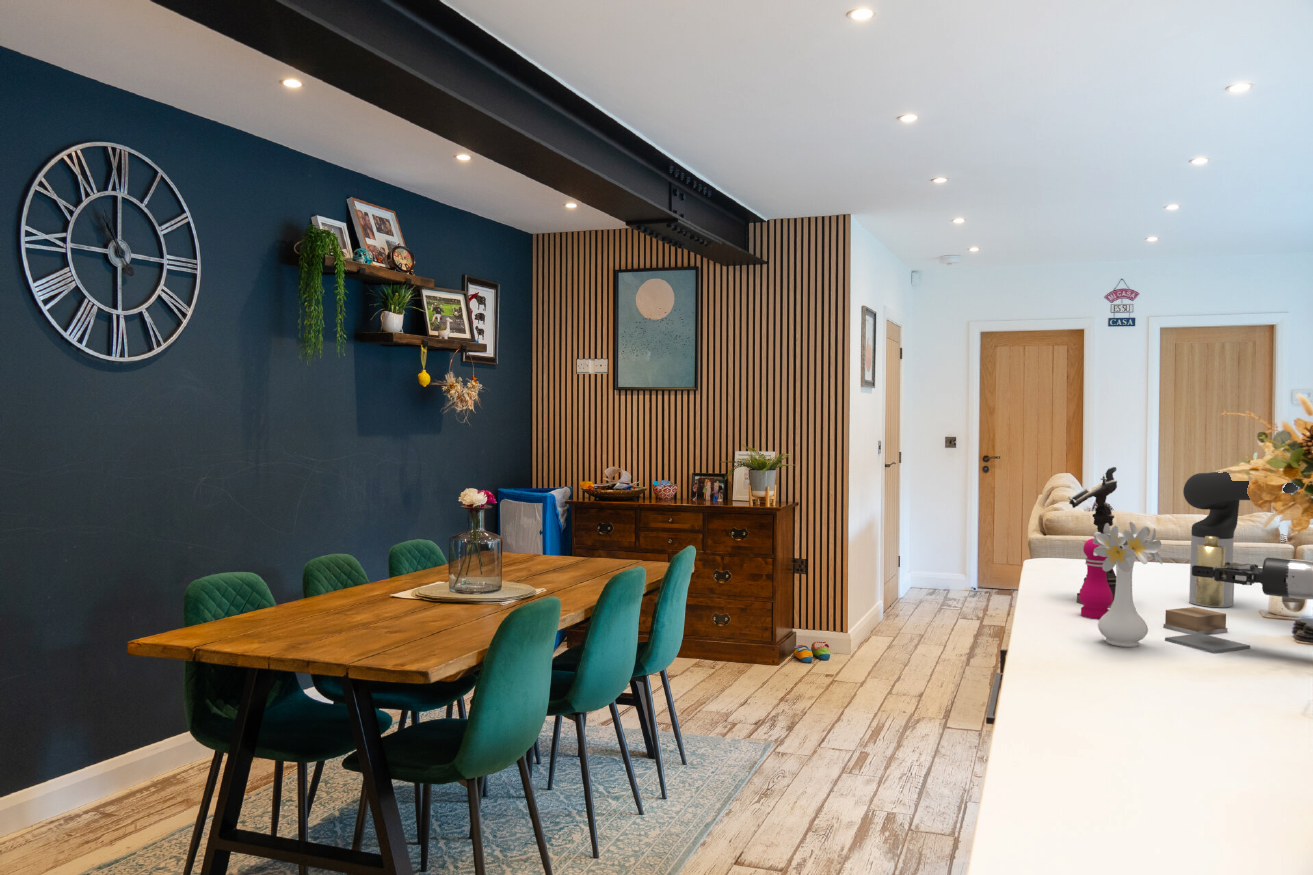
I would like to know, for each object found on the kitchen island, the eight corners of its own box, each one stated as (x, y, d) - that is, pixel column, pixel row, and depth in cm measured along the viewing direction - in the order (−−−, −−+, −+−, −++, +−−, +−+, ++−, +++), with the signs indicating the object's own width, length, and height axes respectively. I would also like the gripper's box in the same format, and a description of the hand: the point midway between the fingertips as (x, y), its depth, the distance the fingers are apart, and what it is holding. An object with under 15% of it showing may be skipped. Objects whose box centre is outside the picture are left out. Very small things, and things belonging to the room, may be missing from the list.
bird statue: (1054, 604, 234) (1058, 464, 233) (1055, 595, 246) (1058, 462, 245) (1128, 610, 228) (1133, 467, 227) (1125, 601, 240) (1129, 464, 239)
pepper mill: (1105, 613, 225) (1108, 530, 224) (1117, 620, 217) (1119, 534, 217) (1074, 612, 225) (1076, 529, 225) (1084, 619, 218) (1087, 533, 217)
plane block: (1193, 624, 215) (1194, 606, 214) (1227, 631, 207) (1228, 613, 207) (1163, 627, 211) (1163, 609, 210) (1196, 635, 203) (1197, 617, 203)
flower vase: (1086, 649, 189) (1089, 526, 189) (1092, 631, 206) (1096, 517, 205) (1159, 659, 183) (1163, 531, 182) (1160, 639, 199) (1164, 522, 199)
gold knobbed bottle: (1206, 600, 199) (1208, 534, 198) (1229, 605, 194) (1231, 537, 194) (1190, 602, 197) (1192, 535, 196) (1212, 606, 192) (1214, 538, 192)
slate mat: (1200, 635, 203) (1200, 633, 203) (1250, 648, 193) (1250, 645, 193) (1164, 640, 199) (1164, 637, 199) (1214, 653, 188) (1214, 650, 188)
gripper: (1298, 556, 191) (1203, 547, 202) (1287, 563, 180) (1187, 554, 191) (1297, 592, 191) (1202, 582, 202) (1286, 602, 180) (1186, 591, 192)
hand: (1195, 568), depth 197 cm, fingers closed on gold knobbed bottle, 5 cm apart
